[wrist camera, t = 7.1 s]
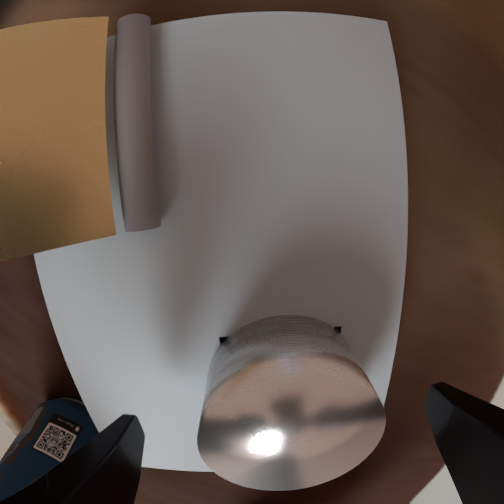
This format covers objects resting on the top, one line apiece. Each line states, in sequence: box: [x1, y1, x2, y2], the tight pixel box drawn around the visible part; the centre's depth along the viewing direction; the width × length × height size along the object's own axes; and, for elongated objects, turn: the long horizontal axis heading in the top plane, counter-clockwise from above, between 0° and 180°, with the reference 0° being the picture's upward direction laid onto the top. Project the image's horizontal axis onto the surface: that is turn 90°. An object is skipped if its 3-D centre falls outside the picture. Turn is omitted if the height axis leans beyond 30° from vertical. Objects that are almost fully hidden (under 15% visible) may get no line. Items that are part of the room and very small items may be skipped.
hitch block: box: [34, 11, 408, 472], centre depth 11 cm, size 17×12×6 cm
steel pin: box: [197, 315, 386, 491], centre depth 10 cm, size 5×5×8 cm
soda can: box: [0, 398, 99, 501], centre depth 11 cm, size 7×7×12 cm
